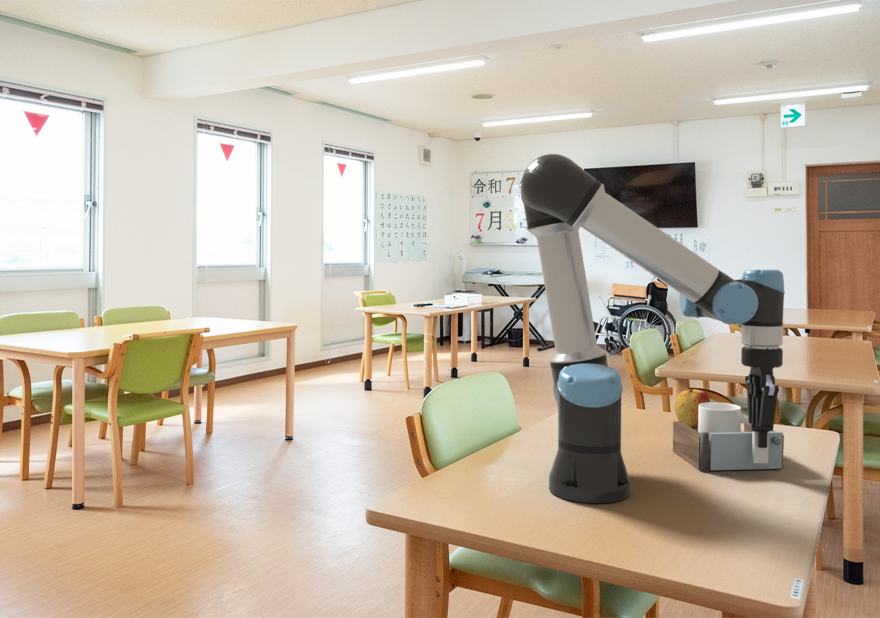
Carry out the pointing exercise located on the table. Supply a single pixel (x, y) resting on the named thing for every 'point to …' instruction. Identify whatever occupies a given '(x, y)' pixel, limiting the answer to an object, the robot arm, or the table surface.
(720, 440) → the door
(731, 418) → the mug
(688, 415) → the apple
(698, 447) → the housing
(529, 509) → the table surface
